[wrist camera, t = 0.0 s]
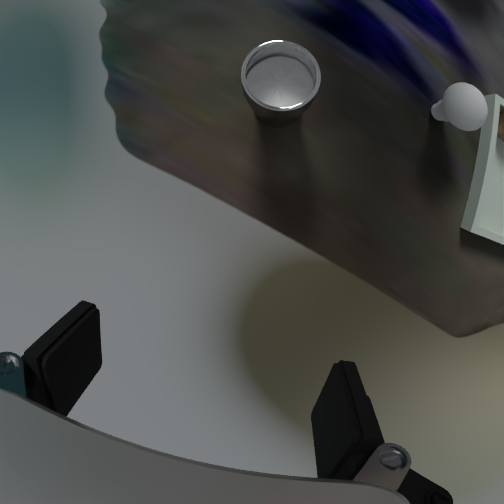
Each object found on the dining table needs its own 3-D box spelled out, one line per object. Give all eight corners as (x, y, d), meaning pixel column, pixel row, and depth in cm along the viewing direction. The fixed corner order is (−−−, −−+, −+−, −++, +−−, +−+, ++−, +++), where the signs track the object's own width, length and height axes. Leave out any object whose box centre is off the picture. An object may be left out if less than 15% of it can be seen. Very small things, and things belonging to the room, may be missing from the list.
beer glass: (312, 119, 37) (336, 98, 22) (262, 138, 38) (258, 125, 24) (291, 72, 35) (302, 28, 21) (241, 91, 36) (225, 54, 22)
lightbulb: (446, 91, 34) (489, 78, 23) (456, 131, 35) (501, 128, 25) (413, 93, 34) (452, 78, 24) (423, 135, 36) (466, 132, 25)
